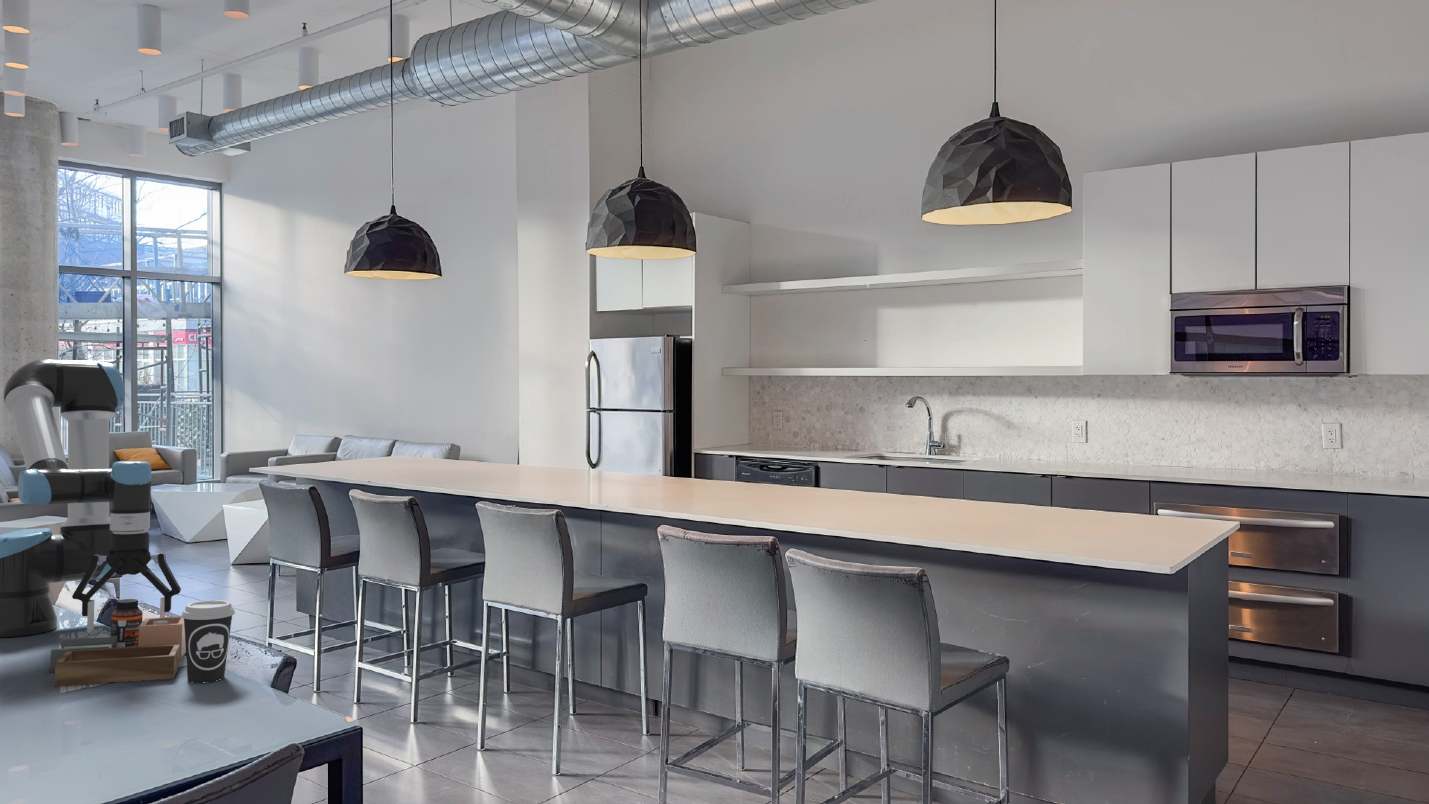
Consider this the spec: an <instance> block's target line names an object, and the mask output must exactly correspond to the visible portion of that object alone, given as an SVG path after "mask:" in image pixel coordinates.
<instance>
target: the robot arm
mask: <svg viewBox="0 0 1429 804" xmlns="http://www.w3.org/2000/svg"><path fill="white" fill-rule="evenodd" d="M123 379H124V378H123V377H122V373H121V371H120V369H119V368H118V367H117V366H116V364H113V363H111V362H105V361H104V362H103V361H98V360H76V359H75V360H73V359H72V360H70V359H53V358H49V359H48V358H44V359H43V358H41V359H36V360H34V361H31V362H28V363H26V364H24V365H23V366H21V367H19V368H18V369H17V370H16V371H15V372H13V373H12V374H11V375H10V377H9V378H8V380H7V381H6V384H5V386H4V389H3V401H4V406H5V408H6V410H7V411H8V412H9V413H10V414H12V417H13V420H14V425H15V428H16V432H17V433H16V434H17V436H18V440H19V445H20V449H21V454H22V457H23V461H24V465H25V469H24V470H22V471H21V472H20V473H19V476H18V481H17V492H18V493H17V494H18V499H19V502H21V504H23V505H39V506H46V505H62V504H64V505H65V504H67V519H66V520H65V521H64V522H63V523H62V524H60V533H59V532H58V533H53V531H52V528H49V527H38V528H37V527H36V528H26V529H21V530H15V531H11V532H10V531H9V532H7V533H6V532H4V533H2V534H0V638H13V637H24V636H32V635H38V634H43V633H48V632H49V631H52V630H55V629H57V627H58V617H57V614H56V610H55V608H54V605H53V602H52V600H51V596H50V586H51V585H50V584H52V583H65V582H66V583H67V582H74V581H76V582H77V581H80V582H79V583H78V586H77V587H76V588H75V590H74V591H73V594H72V595H71V597H72V599H73V600H79V601H81V603H82V604H81V615H82V617H87V618H86V619H87V622H86V633H92V632H93V631H94V628H95V601H96V600H95V599H91V598H92V597H93V596H94V595H95V594H96V593H97V592H98V591H99V590H100V589H101V588H102V587H103V586H104V585H105V584H106V583H107V582H108V581H109V580H110V579H111V578H112V577H114V576H115V575H119V576H125V575H126V576H127V575H131V576H132V575H133V576H134V575H135V576H136V575H138V574H141V575H142V576H143V577H145V578H146V579H147V580H148V582H150V583H151V585H153V587H155V588H156V590H157V591H158V592H160V594H161V595H163V596H161V597H160V602H159V618H161V617H166V613H169V612H170V611H171V610H172V599H173V597H174V596H176V595H179V594H180V593H181V592H182V588H181V586H180V584H179V583H178V580H177V579H176V576H175V575H174V573H173V572H172V570H171V568H170V567H169V565H168V563H167V560H166V559H167V558H166V553H165V552H164V551H161V552H159V553H153V554H151V552H150V535H151V534H150V533H149V532H148V530H150V527H151V497H152V496H151V495H152V480H153V475H152V466H151V463H150V462H148V461H145V460H144V461H143V460H142V461H141V460H137V461H136V460H122V461H121V460H120V461H115V462H113V464H112V466H111V467H110V435H109V433H110V430H109V429H110V423H109V422H110V421H111V419H113V418H114V417H115V416H116V415H117V410H118V409H121V408H123V405H124V403H125V385H124V380H123ZM53 408H60V417H62V418H63V419H64V420H66V421H67V458H66V455H65V451H64V448H63V447H64V446H63V444H62V441H61V437H60V433H59V430H58V426H57V422H56V419H55V418H56V417H55V416H54V411H53ZM150 561H154V563H155V564H158V567H159V568H160V570H161V572H162V575H164V578H165V580H166V582H167V583H168V585H169V587H170V588H168V586H166V585H165V584H164V582H163V581H162V580H161V579H160V578H159V577H158V576H157V575H156V574H155V573H154V572H153V571H152V569H150V568H149V566H148V564H149V563H150ZM91 580H98V581H97V582H96V583H95V584H94V585H93V586H92V587H91V588H90V589H89V590H88V591H87V592H86V593H83V592H84V591H85V589H86V587H87V586H88V584H89V582H90V581H91Z"/></svg>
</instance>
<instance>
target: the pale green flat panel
mask: <svg viewBox="0 0 1429 804" xmlns="http://www.w3.org/2000/svg"><path fill="white" fill-rule="evenodd" d="M100 646H110V648H112V644H105V645H88V646H70V647H64V648H63V649H65V648H82V647H100Z"/></svg>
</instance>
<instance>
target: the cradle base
mask: <svg viewBox="0 0 1429 804" xmlns="http://www.w3.org/2000/svg"><path fill="white" fill-rule="evenodd" d="M117 638H118V636H109V635H107V636H106V635H105V636H93V637H91V636H89V637H72V638H62V639H61V641H60V645H61V646H60V648H52V649H51V650H50V663H49V665H50V668H49V673H51V674H53V673H54V674H55V663H56V662H57V661H58V660H59V659H60V658H61V657H62V656H63V655H64V654H65V653H66V652H67V651H69V650H87V649H104V648H110V646H100V647H82V648H65V649H63V648H64V647H70V646H88V645H105V644H112V648H117Z"/></svg>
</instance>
